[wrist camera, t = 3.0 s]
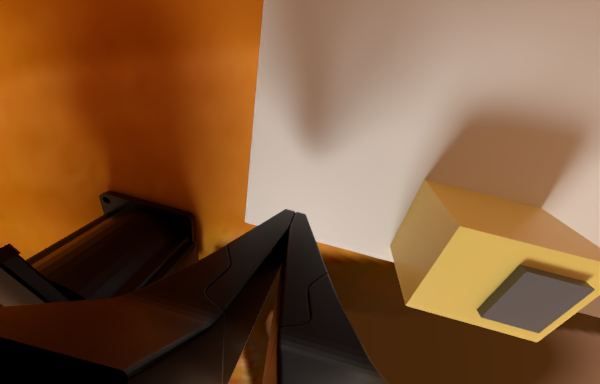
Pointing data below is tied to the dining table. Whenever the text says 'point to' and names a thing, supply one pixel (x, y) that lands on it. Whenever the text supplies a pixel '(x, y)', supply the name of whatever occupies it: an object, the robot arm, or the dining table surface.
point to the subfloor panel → (424, 112)
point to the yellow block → (493, 262)
